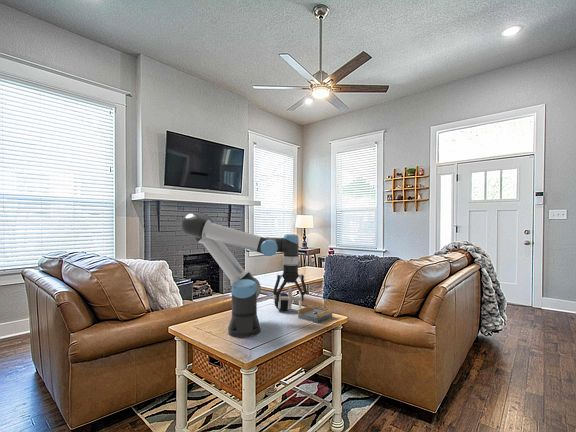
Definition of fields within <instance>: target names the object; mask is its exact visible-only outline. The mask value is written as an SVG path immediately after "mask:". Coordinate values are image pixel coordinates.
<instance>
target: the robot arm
mask: <svg viewBox="0 0 576 432" xmlns="http://www.w3.org/2000/svg"><path fill="white" fill-rule="evenodd" d="M180 226H181V231H182V232H183V233H184V234H185V235H187V236H188V237H192V238H194V239H195V241H196V242H197V243H198V244H202V245H203V246H204V247H205V248H206V250H207V251H208V252H209V254H210V255H211V257H212V258H213V259H214V261H215V262H216V263H217V264H218V266H219V267H220V268H221V270H222V271H223V272H224V274H225V275H226V277H227V278H228V280H230V287H231V290H230V291H231V317H230V321H229V324H228V328H227V330H228V331H227V333H228V335H229V336H231V337H235V338H250V337H254V336H256V335H259V334H260V333H261V324H260V323H261V322H260V321H259V318H258V313H257V312H258V309H257V307H258V303H257V302H258V298H259V296H260V294H261V291H262V290H261V289H262V288H261V282H260V281H259V279H257V278H256V277H254V276H253V275H252V273H251V272H250V271H249V270H245V269H244V268H243V266H242V265H241V264H240V263H239V262H238V260H237V259H236V257H235V256H234V254H233V253H232V252H231V251H230V249H229V248H228V247H227V246H226V244H228V245H231V246H235V247H238V248H241V249H245V250H249V251H253V252H257V253H259V254H263V255H264V256H265V257H272V256H274V255H275V254H277V253H283V267H282V268H283V269H282V274H277V275H276V282H275V284H274V287H273V290H272V294H273V295H276V296H275V298H276V301H277V302H278V308H279V309H280V304H281V296H280V295H279V294H280V293H282V291H283V289H284V288H285V286H286V285H287V284H290V283H292V284H295V286H296V288H297V289H298V291H299V294H298V297H300V301H299V300H298V308H299V309H301V308H302V302H304V298H305V297H304V296H305V295H307V294H308V291H307V286H306V283H305V276H304V275H303V274H299V265H298V264H299V246H300V245H299V244H300V243H299V240H300V239H299V235H298V234H296V233H294V234H293V233H284V235H283V237H270V236H269V237H263V236H260V235H256V234H252V233H249V232H246V231H243V230H242V231H241V230H240V229H235V228H232V227H227V226H224V225H220V224H218V223H214V221H213V219H212V218H211V217H210V216H209V215H208V214H206V213H204V212H191V213H188V214H186V215H185V216H184V217H183V218H182V220H181V225H180ZM282 278H283V280H282V283H281V285H280V282H281V279H282ZM297 279H299V280H300V281H301V286H302V287H301V286H300V284H299V283H298V280H297ZM279 285H280V286H279ZM302 289H303V290H302Z"/></svg>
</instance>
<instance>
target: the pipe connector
mask: <svg viewBox="0 0 576 432" xmlns="http://www.w3.org/2000/svg"><path fill="white" fill-rule="evenodd" d="M287 291H288V292H287V294H288V297H283V296H281V300H288V310H291V309H293V308H292V307H293V306H292V305H293V304H292V302H293V301H298V302H299V301H300V297H299V296H293V289H292V288H288V290H287Z"/></svg>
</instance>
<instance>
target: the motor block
mask: <svg viewBox="0 0 576 432" xmlns="http://www.w3.org/2000/svg"><path fill="white" fill-rule="evenodd" d="M314 306H315V305H314V304H310V305H307V306H305V307H304V306H303V307H301V308H299V309H298V310H297V314H298V315H297V318H298V319H300V320H301V319H302V320H305V321H308V322H311V321H312V323H316V324H320V323H322V322H325V321H327V320H329V319H332V318H333V308H329V309H327V310H324V309H319V308H315V307H314Z"/></svg>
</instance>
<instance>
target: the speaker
mask: <svg viewBox="0 0 576 432" xmlns="http://www.w3.org/2000/svg"><path fill="white" fill-rule="evenodd" d="M279 295H280V296H283V297H288V293H285V292H281V293H280V294H279ZM273 302H274V306H275V308H276V309H277V310H279V311H280V312H281V311H282V312H285V311H288V310H289V309H288V300H281V304H280V309H279V308H278V302H277V301H276V297H275V298H274V300H273Z"/></svg>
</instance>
